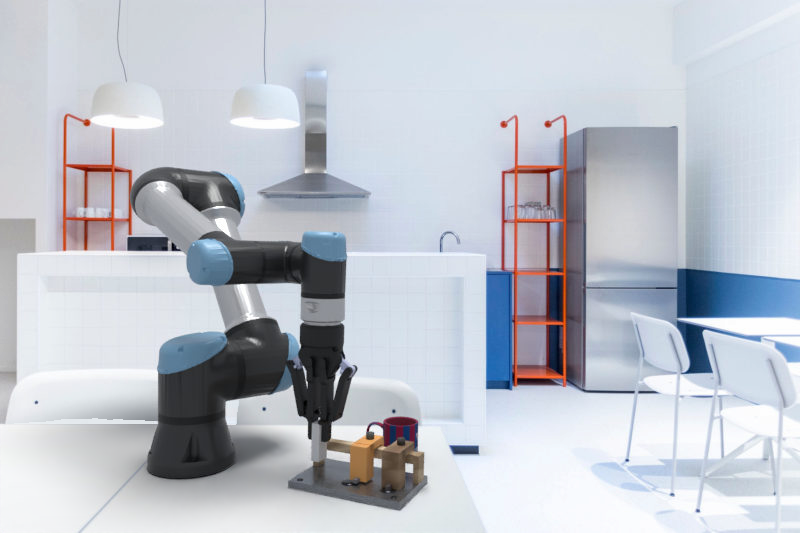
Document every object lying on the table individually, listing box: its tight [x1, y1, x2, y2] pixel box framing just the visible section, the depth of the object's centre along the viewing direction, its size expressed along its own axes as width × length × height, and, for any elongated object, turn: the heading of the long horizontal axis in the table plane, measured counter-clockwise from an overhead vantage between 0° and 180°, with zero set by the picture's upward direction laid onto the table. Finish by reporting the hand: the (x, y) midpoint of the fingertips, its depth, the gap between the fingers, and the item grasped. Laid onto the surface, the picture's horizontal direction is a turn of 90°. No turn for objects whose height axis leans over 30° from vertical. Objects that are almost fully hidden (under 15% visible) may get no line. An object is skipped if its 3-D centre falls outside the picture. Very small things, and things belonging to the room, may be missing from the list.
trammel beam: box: [312, 437, 425, 491], centre depth 102 cm, size 20×8×7 cm, turn 67°
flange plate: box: [287, 457, 428, 511], centre depth 101 cm, size 20×12×1 cm, turn 67°
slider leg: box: [349, 430, 384, 484], centre depth 102 cm, size 3×8×7 cm, turn 157°
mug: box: [365, 416, 419, 452], centre depth 116 cm, size 7×10×7 cm
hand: (318, 458), depth 104 cm, fingers closed
